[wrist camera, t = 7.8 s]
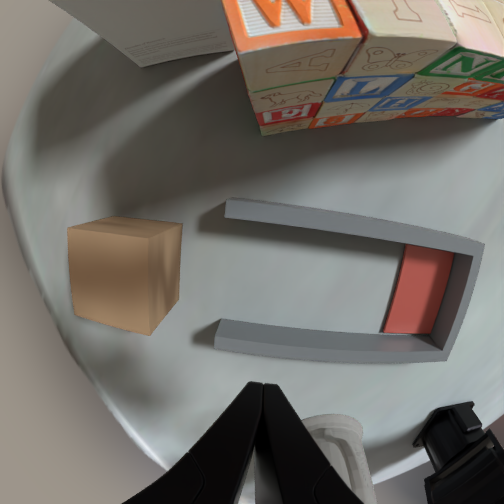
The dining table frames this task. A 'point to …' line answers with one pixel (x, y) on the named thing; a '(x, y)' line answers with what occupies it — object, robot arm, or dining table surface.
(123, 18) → the supplement box
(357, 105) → the stack of blocks
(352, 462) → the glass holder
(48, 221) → the dining table surface
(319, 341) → the trap channel
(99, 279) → the tan cube
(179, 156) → the dining table surface
